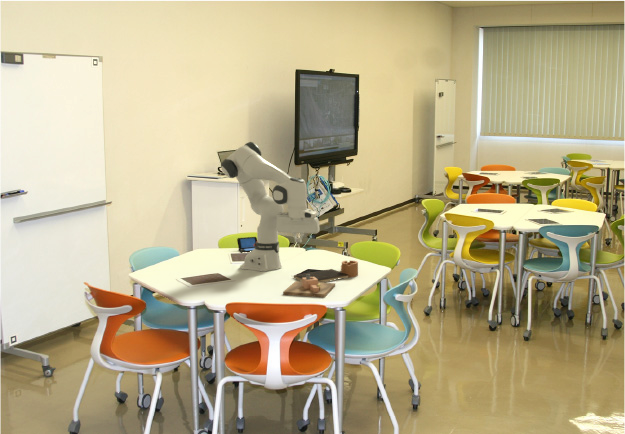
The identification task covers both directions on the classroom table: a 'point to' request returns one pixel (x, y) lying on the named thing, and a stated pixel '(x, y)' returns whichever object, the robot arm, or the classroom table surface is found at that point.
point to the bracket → (350, 268)
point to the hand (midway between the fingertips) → (298, 242)
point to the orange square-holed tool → (310, 284)
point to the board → (308, 290)
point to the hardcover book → (323, 275)
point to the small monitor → (246, 244)
